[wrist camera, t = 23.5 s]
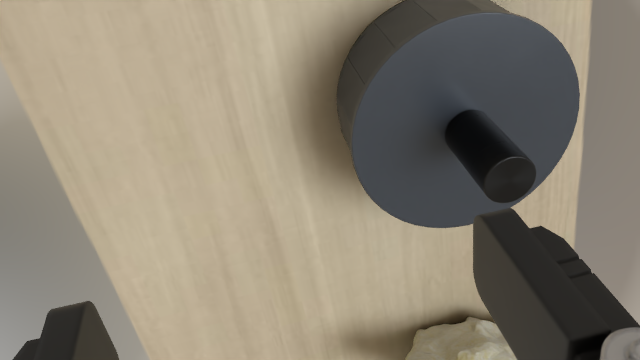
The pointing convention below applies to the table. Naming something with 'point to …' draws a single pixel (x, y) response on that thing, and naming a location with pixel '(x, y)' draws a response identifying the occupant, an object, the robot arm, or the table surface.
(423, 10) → the pot
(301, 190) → the table surface
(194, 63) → the table surface
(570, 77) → the lid
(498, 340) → the cream rock
